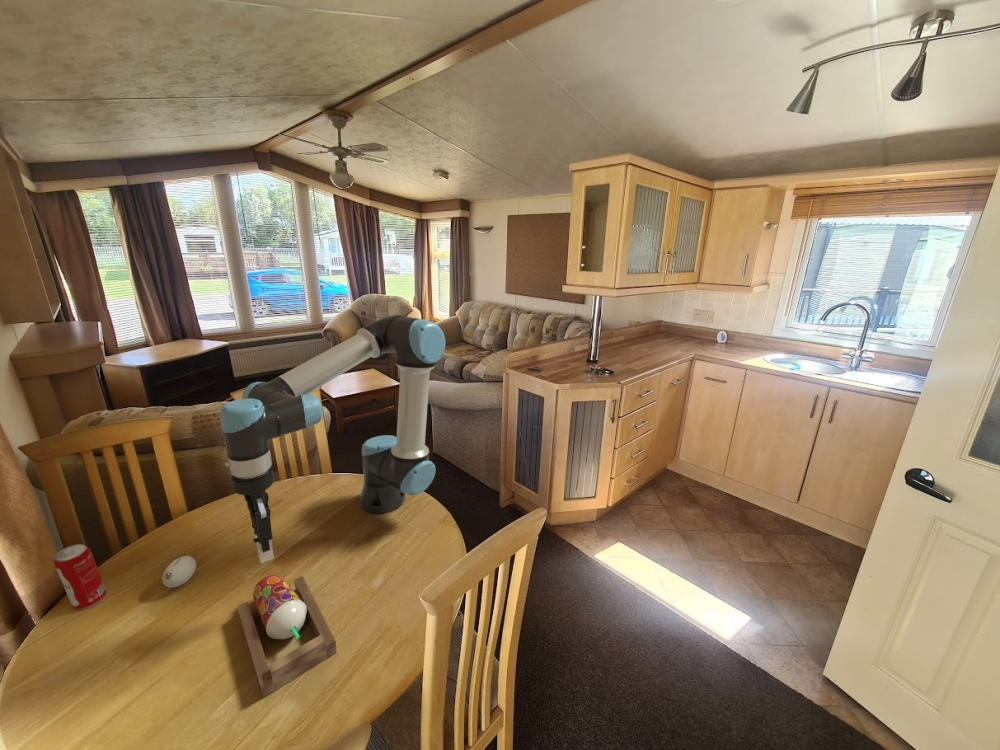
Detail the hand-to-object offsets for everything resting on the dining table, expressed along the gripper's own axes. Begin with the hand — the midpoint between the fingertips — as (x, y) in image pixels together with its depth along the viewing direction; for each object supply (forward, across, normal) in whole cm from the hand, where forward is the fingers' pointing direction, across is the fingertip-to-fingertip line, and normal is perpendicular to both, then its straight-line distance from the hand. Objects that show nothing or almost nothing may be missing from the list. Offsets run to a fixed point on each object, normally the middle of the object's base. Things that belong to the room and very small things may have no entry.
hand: (266, 558), depth 91 cm
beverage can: (+14, -28, -33) cm, 45 cm away
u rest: (+13, +10, 0) cm, 17 cm away
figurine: (+14, -21, -16) cm, 30 cm away
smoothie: (+10, -3, 0) cm, 11 cm away
